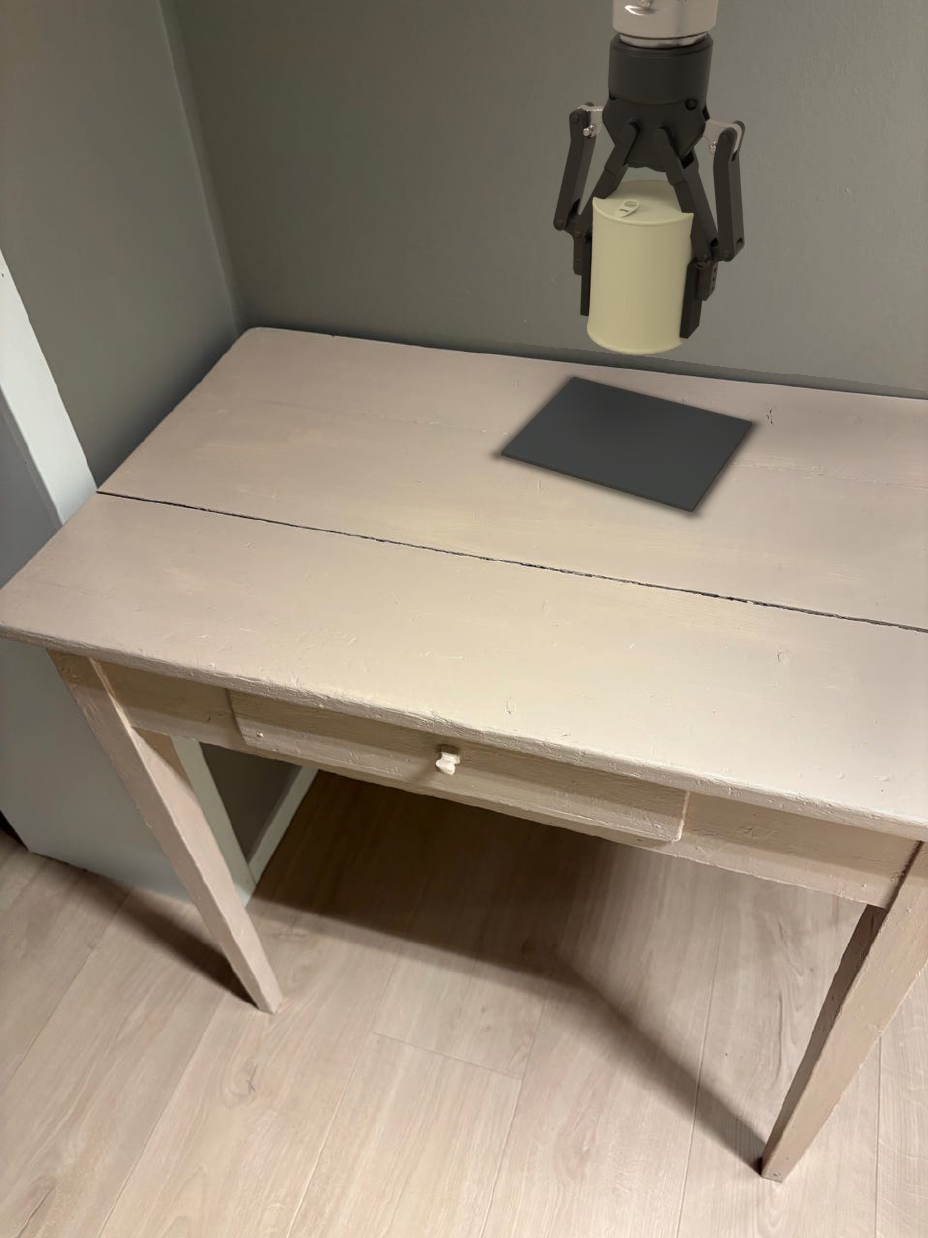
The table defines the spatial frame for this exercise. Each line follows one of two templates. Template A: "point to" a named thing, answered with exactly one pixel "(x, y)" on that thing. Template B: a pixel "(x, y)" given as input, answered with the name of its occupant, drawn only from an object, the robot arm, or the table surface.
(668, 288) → the can
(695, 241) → the robot arm
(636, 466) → the mat
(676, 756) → the table surface
